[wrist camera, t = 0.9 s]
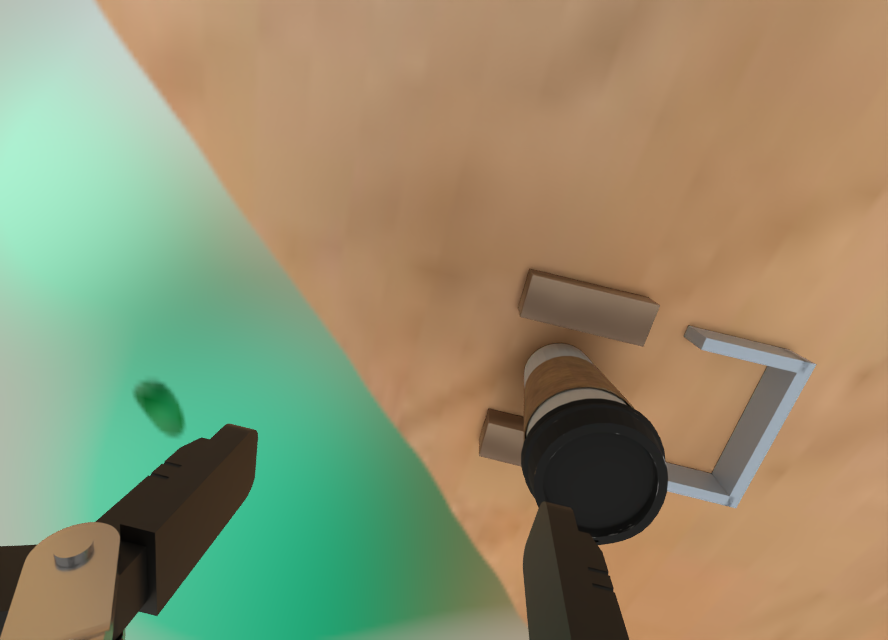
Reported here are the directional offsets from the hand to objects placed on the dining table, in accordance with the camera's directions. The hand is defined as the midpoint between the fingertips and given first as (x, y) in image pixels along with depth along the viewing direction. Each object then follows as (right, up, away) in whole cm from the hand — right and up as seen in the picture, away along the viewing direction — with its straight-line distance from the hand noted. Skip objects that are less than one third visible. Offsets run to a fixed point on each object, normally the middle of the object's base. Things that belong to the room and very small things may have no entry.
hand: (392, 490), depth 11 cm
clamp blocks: (+12, 0, +26) cm, 28 cm away
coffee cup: (+12, 0, +26) cm, 29 cm away
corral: (+24, -3, +26) cm, 35 cm away
